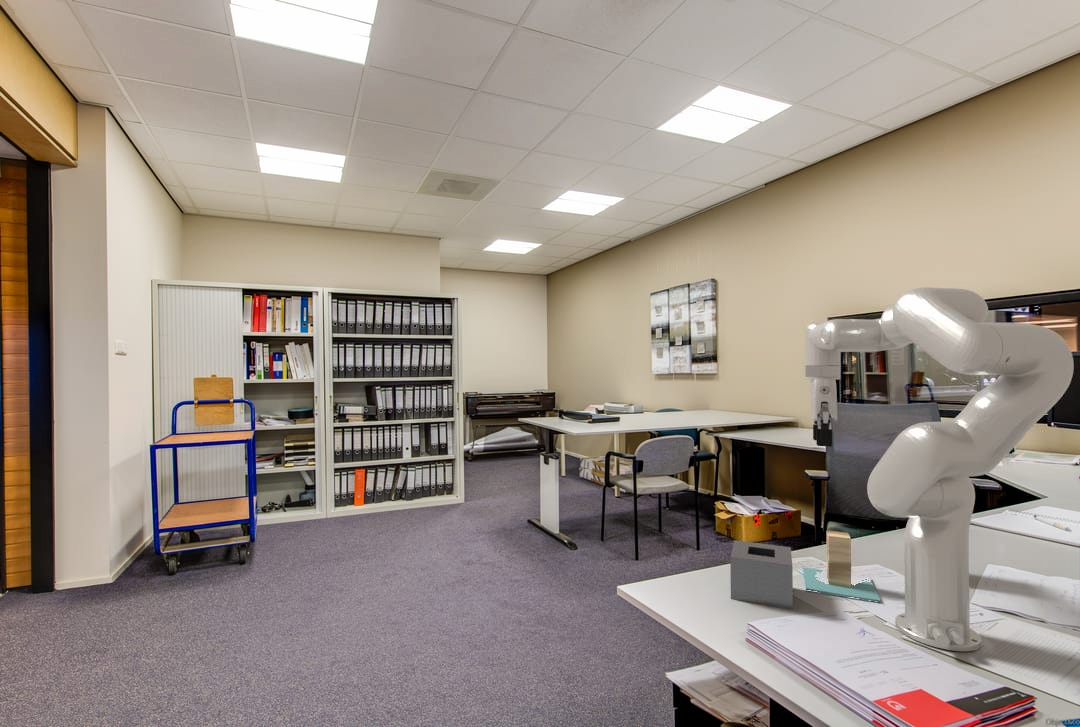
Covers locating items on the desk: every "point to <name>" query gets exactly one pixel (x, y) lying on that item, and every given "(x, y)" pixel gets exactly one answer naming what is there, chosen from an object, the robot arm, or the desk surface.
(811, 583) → the teal mat
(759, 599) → the grey block with hole
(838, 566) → the oak plug
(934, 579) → the robot arm
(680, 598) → the desk surface
